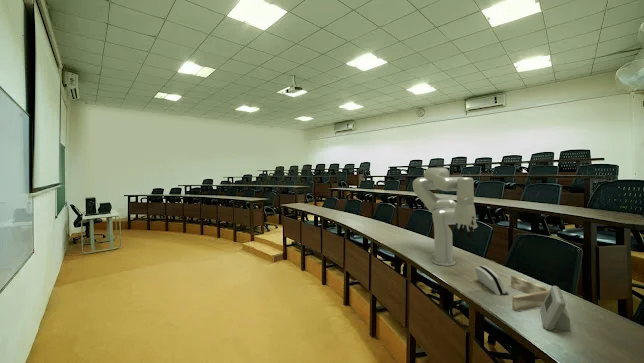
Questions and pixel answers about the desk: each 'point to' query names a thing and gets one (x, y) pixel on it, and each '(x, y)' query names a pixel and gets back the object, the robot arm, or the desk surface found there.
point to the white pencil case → (490, 279)
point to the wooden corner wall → (533, 296)
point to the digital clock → (555, 311)
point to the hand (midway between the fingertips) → (465, 237)
